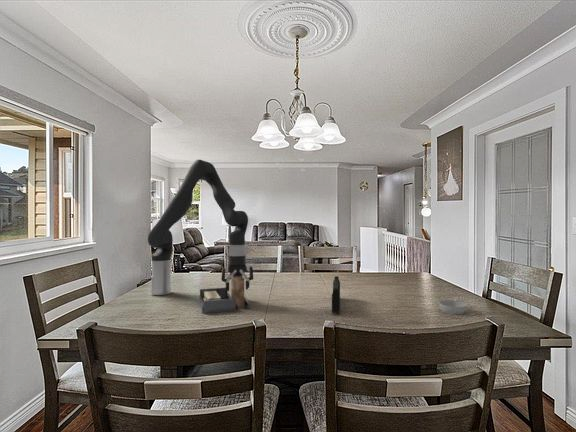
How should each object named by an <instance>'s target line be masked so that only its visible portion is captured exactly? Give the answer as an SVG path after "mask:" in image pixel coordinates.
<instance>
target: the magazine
mask: <svg viewBox="0 0 576 432" xmlns="http://www.w3.org/2000/svg"><path fill="white" fill-rule="evenodd" d="M332 283H333V284H332V293H331V313H333V314H339V313H341V281H340V278H339V276H334V279H333V281H332Z"/></svg>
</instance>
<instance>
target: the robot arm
mask: <svg viewBox="0 0 576 432" xmlns="http://www.w3.org/2000/svg"><path fill="white" fill-rule="evenodd" d="M187 170H188V171H187V173H186V175H185V176H184V179H183V181H182V183H181V184H180V186H179V187H178V189H177V191H176V193H175V194H174V195H173V197H172V199H170V200H171V201H170V202H169V203H168V205H167V207H166V209H165V210H164V212H163V213H162V215H161V217H160V218H159V220H158V221H157V222H156V223H155V225H154V226H153V227H152V229H150V232H149V233H148V235H147V243H148V245H149V246H150V247H153V248H156V251H154V253H153V254H152V255H151V280H150V281H151V296H164V295H169V294H171V293H172V282H171V281H172V279H171V277H172V275H171V274H172V273H171V272H172V271H171V270H172V269H171V268H172V267H171V266H172V265H171V261H172V260H171V257H172V254H173V241H174V239H173V234H172V231H171V230H170V229H171V228H172V227H173V226H174V225H175V224H176V223H177V222H179V221H180V220H182V219H183V218H184V216H186V214H187V213H188V212H189V209H190V207H191V206H192V205H193V199H194V198H193V197H194V195H193V192H194V189H195V186H197V183H198V182H199V181H200V180H201V181H205V182H206V183H207V184H208V185H209V186H210V187H211V189H212V195H213V199H214V200H215V203H217V205H218V206H219V208H220V210H221V211H222V215H223V218H224V220H225V223H226V224H227V225H228V226H229V227H234V230H233V231H232V232H230V233H229V237H228V238H229V239H228V240H229V243H228V245H229V247H228V267H226V268H225V267H222V268H221V278H220V279H221V281H222V282H224V283H225V287H226V290H227V291H228V292H230V282H231V281H230V280H231V278H232V277H235V276H239V275H241V276H242V277H243V278H244V280H245V290H247V291H248V290H249V288H250V282H251V281H252V280H254V269H253V267H252V266H251V265H250V266H247V265H246V264H247V263H246V262H247V261H246V254H247V253H246V252H247V251H246V233H247V229H248V224H249V216H248V214H247V212H245V211H244V210H235V208H236V202H235V200H234V199H233V198H232V196H231V195H230V193H229V192H228V191H227V189H226V188H225V186H224V183H223V181H222V180H221V177H220V176H219V174H218V171H217V170H216V168H215V166H214V164H212V163H211V162H209V161H206V160H202V159H196V160H194V161H193V162H192V163H191V165H190V166H189V169H187ZM246 271H248V272H249V277H248V276H247V274H246ZM227 272H229V274H228V276H227V277H226V273H227Z"/></svg>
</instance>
